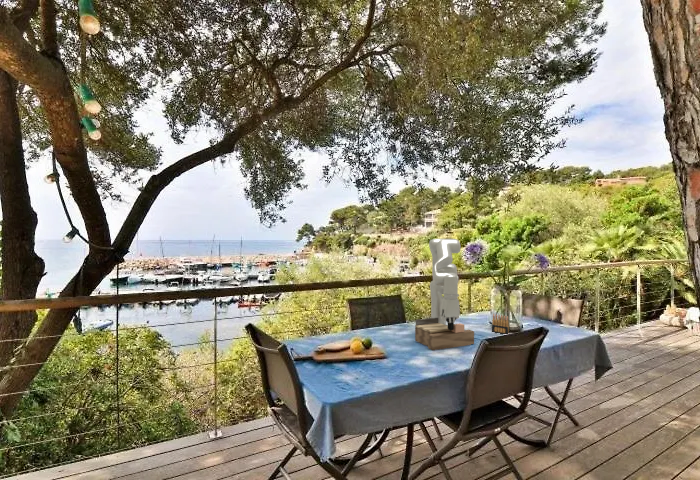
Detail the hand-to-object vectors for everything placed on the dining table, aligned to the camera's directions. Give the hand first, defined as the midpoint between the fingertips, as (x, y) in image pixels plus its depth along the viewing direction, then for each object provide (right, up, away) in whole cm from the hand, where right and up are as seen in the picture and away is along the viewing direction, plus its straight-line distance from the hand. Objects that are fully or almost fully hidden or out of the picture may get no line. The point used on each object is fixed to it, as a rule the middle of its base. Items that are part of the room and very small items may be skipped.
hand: (450, 329), depth 242 cm
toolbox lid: (-7, -1, +8) cm, 11 cm away
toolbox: (-3, -9, +8) cm, 12 cm away
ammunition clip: (+37, -9, +28) cm, 48 cm away
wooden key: (+5, -2, +2) cm, 5 cm away
